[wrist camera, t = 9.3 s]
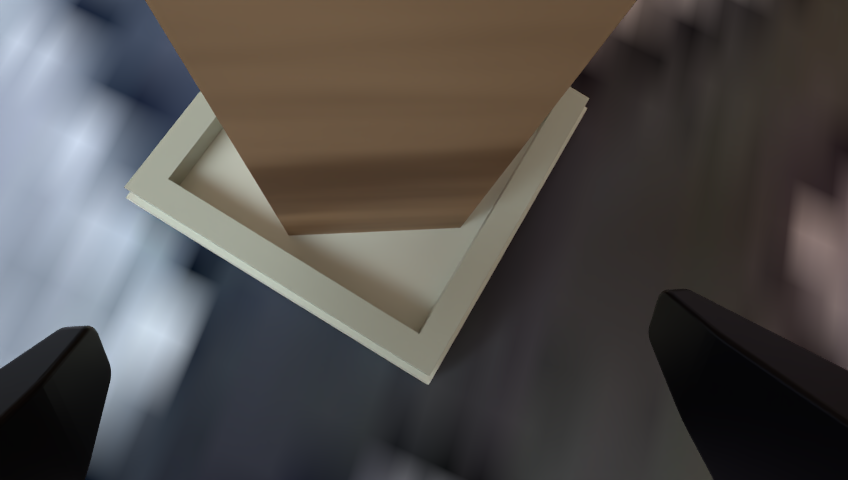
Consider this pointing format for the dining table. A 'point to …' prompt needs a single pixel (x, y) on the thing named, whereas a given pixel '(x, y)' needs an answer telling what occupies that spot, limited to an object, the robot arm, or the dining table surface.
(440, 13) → the walnut post
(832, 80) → the dining table surface
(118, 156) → the dining table surface
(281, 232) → the cream square tray
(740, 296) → the dining table surface
